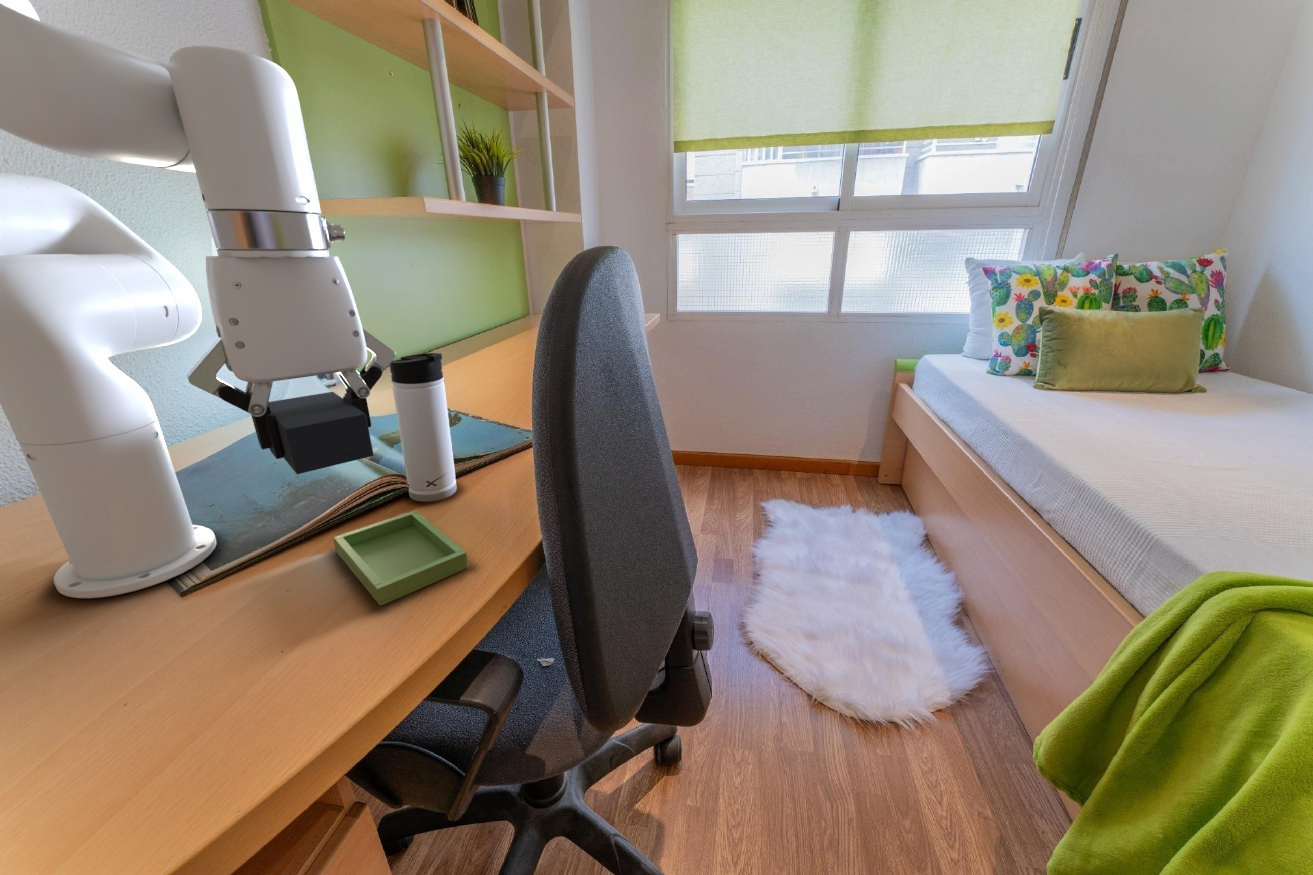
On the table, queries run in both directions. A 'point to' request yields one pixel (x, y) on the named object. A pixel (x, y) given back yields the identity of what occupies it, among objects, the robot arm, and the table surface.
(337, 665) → the table surface
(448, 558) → the frame
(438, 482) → the travel mug
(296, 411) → the dark gray block
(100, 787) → the table surface
